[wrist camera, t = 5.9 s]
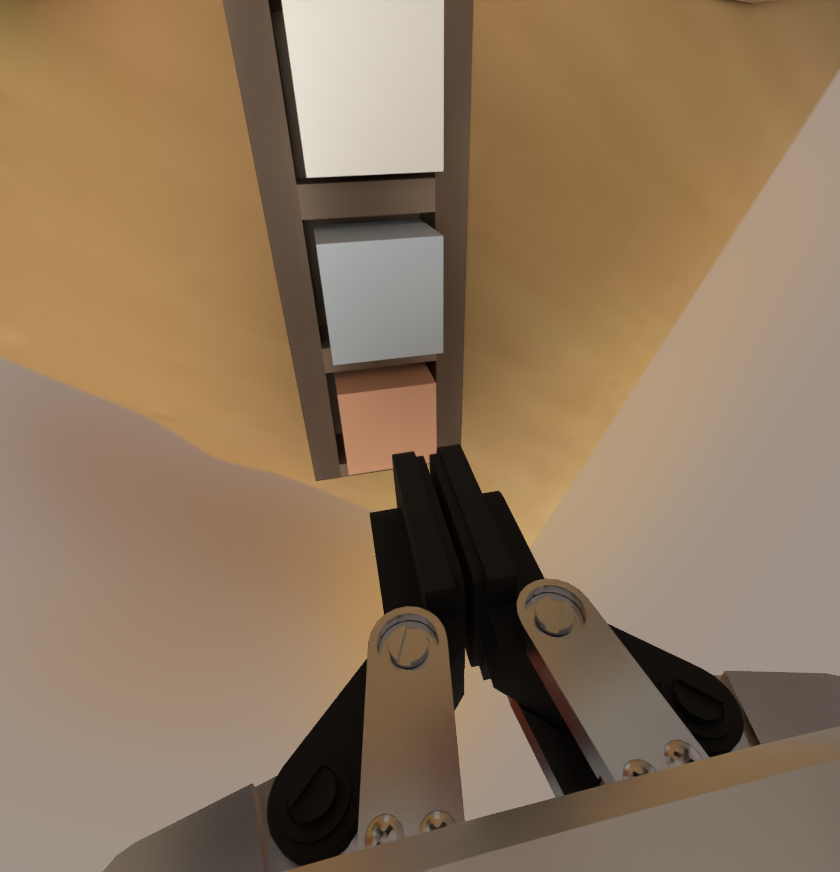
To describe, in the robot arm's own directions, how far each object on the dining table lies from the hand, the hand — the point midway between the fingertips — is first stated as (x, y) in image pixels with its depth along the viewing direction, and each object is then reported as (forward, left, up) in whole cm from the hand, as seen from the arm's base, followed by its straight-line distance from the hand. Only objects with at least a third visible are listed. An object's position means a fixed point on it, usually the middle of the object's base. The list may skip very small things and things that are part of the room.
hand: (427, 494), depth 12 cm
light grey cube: (0, -2, -13) cm, 13 cm away
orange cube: (0, +4, -14) cm, 14 cm away
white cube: (0, -9, -13) cm, 15 cm away
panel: (0, -2, -15) cm, 16 cm away
